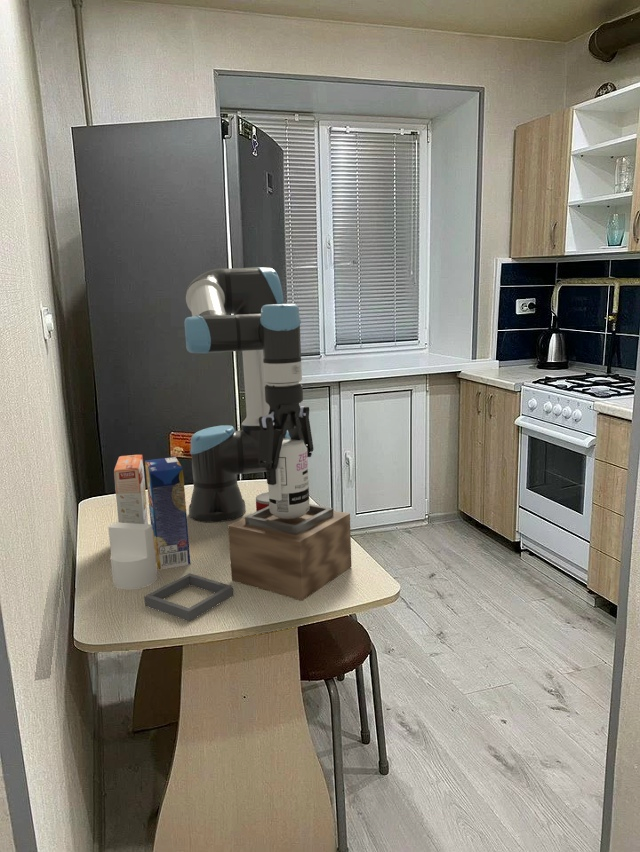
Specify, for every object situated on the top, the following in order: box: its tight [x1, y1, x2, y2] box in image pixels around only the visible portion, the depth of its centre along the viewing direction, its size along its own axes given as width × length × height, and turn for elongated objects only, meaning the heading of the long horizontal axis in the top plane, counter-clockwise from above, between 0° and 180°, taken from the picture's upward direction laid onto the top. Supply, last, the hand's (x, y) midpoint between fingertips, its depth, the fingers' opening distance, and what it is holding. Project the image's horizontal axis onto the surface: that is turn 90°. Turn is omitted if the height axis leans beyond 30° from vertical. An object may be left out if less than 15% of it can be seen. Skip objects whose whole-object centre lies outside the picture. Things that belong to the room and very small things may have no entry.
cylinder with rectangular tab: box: [107, 522, 159, 590], centre depth 137 cm, size 9×9×12 cm
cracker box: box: [113, 454, 149, 524], centre depth 154 cm, size 14×6×21 cm, turn 12°
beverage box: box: [144, 456, 191, 571], centre depth 146 cm, size 7×11×22 cm, turn 20°
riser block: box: [227, 503, 353, 601], centre depth 137 cm, size 18×18×14 cm
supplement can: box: [269, 438, 310, 519], centre depth 134 cm, size 8×8×15 cm
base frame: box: [143, 572, 235, 622], centre depth 127 cm, size 12×12×2 cm
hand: (288, 493), depth 134 cm, fingers closed on supplement can, 8 cm apart
